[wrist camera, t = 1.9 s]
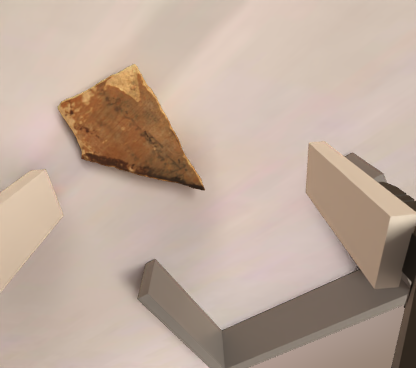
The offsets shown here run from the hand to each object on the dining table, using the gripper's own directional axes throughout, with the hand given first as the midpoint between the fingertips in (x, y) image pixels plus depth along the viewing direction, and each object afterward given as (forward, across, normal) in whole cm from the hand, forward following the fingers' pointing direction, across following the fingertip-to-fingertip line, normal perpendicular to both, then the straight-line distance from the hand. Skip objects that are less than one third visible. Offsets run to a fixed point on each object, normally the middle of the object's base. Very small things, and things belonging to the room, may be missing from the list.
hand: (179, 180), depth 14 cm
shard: (+11, +1, 0) cm, 11 cm away
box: (+10, +7, -16) cm, 20 cm away
